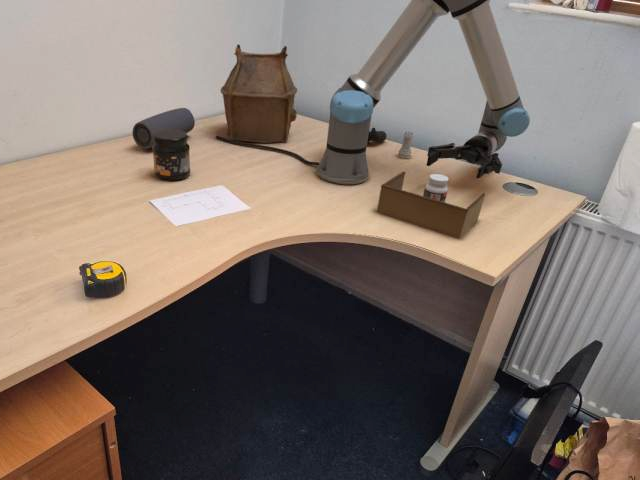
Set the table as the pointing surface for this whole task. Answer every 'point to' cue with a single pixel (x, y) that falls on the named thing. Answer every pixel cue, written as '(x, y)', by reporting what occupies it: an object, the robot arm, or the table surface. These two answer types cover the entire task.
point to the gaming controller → (376, 136)
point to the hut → (259, 98)
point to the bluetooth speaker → (162, 125)
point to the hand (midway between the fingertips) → (452, 167)
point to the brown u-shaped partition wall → (427, 209)
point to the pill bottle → (437, 187)
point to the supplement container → (171, 155)
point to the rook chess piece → (406, 146)
